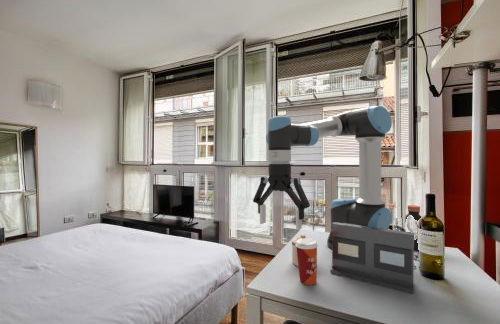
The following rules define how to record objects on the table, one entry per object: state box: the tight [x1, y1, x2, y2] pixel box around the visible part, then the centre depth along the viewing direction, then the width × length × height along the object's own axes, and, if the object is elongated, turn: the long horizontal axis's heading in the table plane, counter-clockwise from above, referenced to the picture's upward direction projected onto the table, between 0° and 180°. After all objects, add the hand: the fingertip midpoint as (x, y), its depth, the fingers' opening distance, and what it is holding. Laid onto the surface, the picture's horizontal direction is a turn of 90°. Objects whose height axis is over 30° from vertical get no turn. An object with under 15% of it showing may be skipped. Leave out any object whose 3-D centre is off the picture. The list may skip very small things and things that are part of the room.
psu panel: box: [329, 222, 415, 294], centre depth 90 cm, size 8×26×18 cm, turn 56°
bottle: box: [404, 204, 422, 252], centre depth 119 cm, size 7×7×20 cm
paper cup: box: [295, 237, 319, 286], centre depth 88 cm, size 8×8×14 cm
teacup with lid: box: [291, 234, 308, 267], centre depth 104 cm, size 12×9×12 cm
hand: (280, 226), depth 85 cm, fingers open, 13 cm apart
